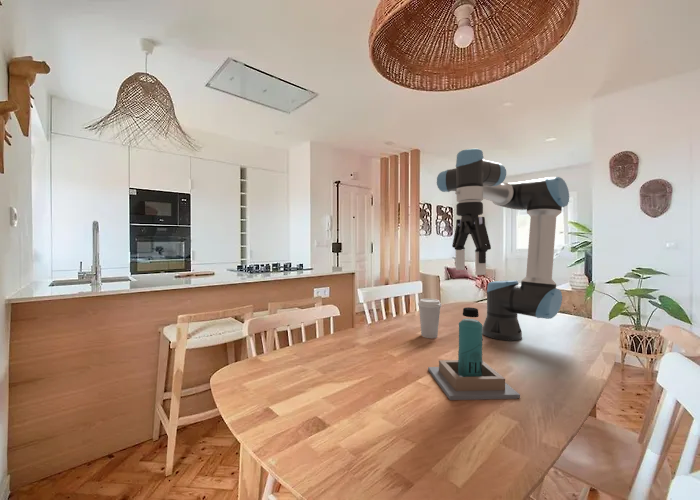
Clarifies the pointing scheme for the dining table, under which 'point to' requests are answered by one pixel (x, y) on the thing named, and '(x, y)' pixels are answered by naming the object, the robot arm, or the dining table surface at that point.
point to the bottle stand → (471, 383)
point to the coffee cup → (429, 317)
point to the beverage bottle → (470, 345)
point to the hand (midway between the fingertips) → (469, 272)
